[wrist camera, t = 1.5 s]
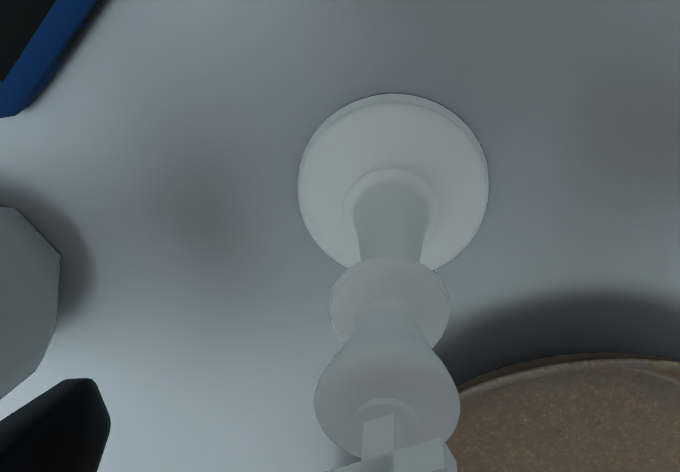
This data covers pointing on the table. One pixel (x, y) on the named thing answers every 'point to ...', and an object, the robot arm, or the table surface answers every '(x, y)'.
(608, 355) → the saucer
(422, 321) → the chess piece
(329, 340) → the table surface
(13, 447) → the robot arm
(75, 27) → the cell phone
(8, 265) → the salt shaker
